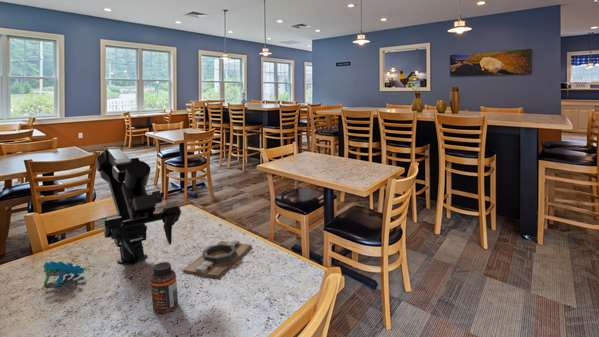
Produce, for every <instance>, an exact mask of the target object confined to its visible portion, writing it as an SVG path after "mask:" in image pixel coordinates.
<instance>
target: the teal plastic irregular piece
mask: <svg viewBox="0 0 599 337" xmlns="http://www.w3.org/2000/svg"><path fill="white" fill-rule="evenodd" d="M42 268H43V273H45V276H46V277H45V278H44V279H45V280H44V282H43V285H47V283H48V282H49V279H50V277H58V278H57V280H56V283H55V287H60V286H61V283H62V281H63V278H64V276H66V275H71V274H72V275H75V276H76V275H79V274H80V275H81V274H83V273H84V271H85V268H83V267H82V266H81V265H78V264H76V265H74V264H73V263H71V262H67V263H64V262H63V261H57V262H55V261H54V260H53V261H49V262H46V261H45V262H44V265H43V267H42Z"/></svg>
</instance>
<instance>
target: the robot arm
mask: <svg viewBox="0 0 599 337" xmlns="http://www.w3.org/2000/svg"><path fill="white" fill-rule="evenodd" d="M95 167H96V172H98V173H99V175H100V177H101V179H103V180H104V181H105V182H106V183H108V186H109V191H110V193H111V196H112V201H113V203H114V207H115V210H116V214H117V216H113V217H109V218H105V219H104V221H103V226H102V227H103V228H102V230H103V235H104V238H106V239H109V238H111V240H113V241H114V244H115V245H116V247H117V248H119V253H120V258H119V259H118V260H116V261H117V263H119V264H126V265H129V266H130V265H131V266H132V265H135V264H137V263H138V262H141V261H142V260H144V259H146V258H147V257H148V254H147V253H146V254H145V253H144V246H143V241H147V232H148V231H147V230H148V227H147V225H146V224H149V223H153V222H157V221H162V223H163V230H164V234H165V238H166V240H167V243H168V245H172V238H173V235H172V233H173V231H172V230H173V226H174V225H175V224H176V223H177V222H179V219H180V216H181V214H182V210H181V207H180V206H178V205H177V204H174V205H169V206H164V207H163V210H162V212H159V213H154V212H156V207H157V204H161V203H162V202H163V197H162V196H163V194H162V193H161V190H155V191H153V192H151V194H148V192H147V188H146V186H147V185H148V183H149V179H150V178H149V177H150V174H151V167H150V165H149V164H148V163H147V162H146V161H143V160H140V158H139V157H132V158H130V157H128V155H127V154H125V152H123V149H122V147H121V146H120V147H119V146H112V147H105V148H103V151H102V152H101V153H100V154H98V155H97V156H96V160H95Z"/></svg>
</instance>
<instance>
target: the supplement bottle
mask: <svg viewBox="0 0 599 337" xmlns="http://www.w3.org/2000/svg"><path fill="white" fill-rule="evenodd" d="M149 283H150V293H151V303H152V310H153V311H154V312H155V313H157V314H166V313H170V312H171V311H173V310H175V309H176V308H177V306H179V297H178V296H179V295H178V286H177V284H178V283H177V275H176V271H174V270H173V269H172V264H171V263H170V262H168V261H163V262H158V263H156V264H155V265H154V266H153V273H152V274H151V275H150V277H149Z"/></svg>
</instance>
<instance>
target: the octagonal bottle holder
mask: <svg viewBox="0 0 599 337" xmlns="http://www.w3.org/2000/svg"><path fill="white" fill-rule="evenodd" d="M252 247H253V246H252V244H247V243H241V242H240V240H236V239H235V240H234V239H232V240H230V241H224V240H221V241H219V242H218V243H216V244H214V245H209V246H208V247H207V248H205V249H203V250H202V251H201V252H202V254H201V255H200V256H199V257H198V258H196V259H195V260H193V261H192V262H190V264H188V265H187V266H185V267H184V268H183V269H182V272H183V273H185V274H192V275H198V276H202V277H203V276H204V277H208V278H214V279H219V278H220V277H221V276H222V275H223V274H224V273H225V272H226V271H228V269H230V268H231V267H232V266H233V265H234V264H235V263H236V262H238V260H239V259H240V258H242V256H244V255H245V254H246V253H247V252H248V251H249V250H250V249H251V248H252Z"/></svg>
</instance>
